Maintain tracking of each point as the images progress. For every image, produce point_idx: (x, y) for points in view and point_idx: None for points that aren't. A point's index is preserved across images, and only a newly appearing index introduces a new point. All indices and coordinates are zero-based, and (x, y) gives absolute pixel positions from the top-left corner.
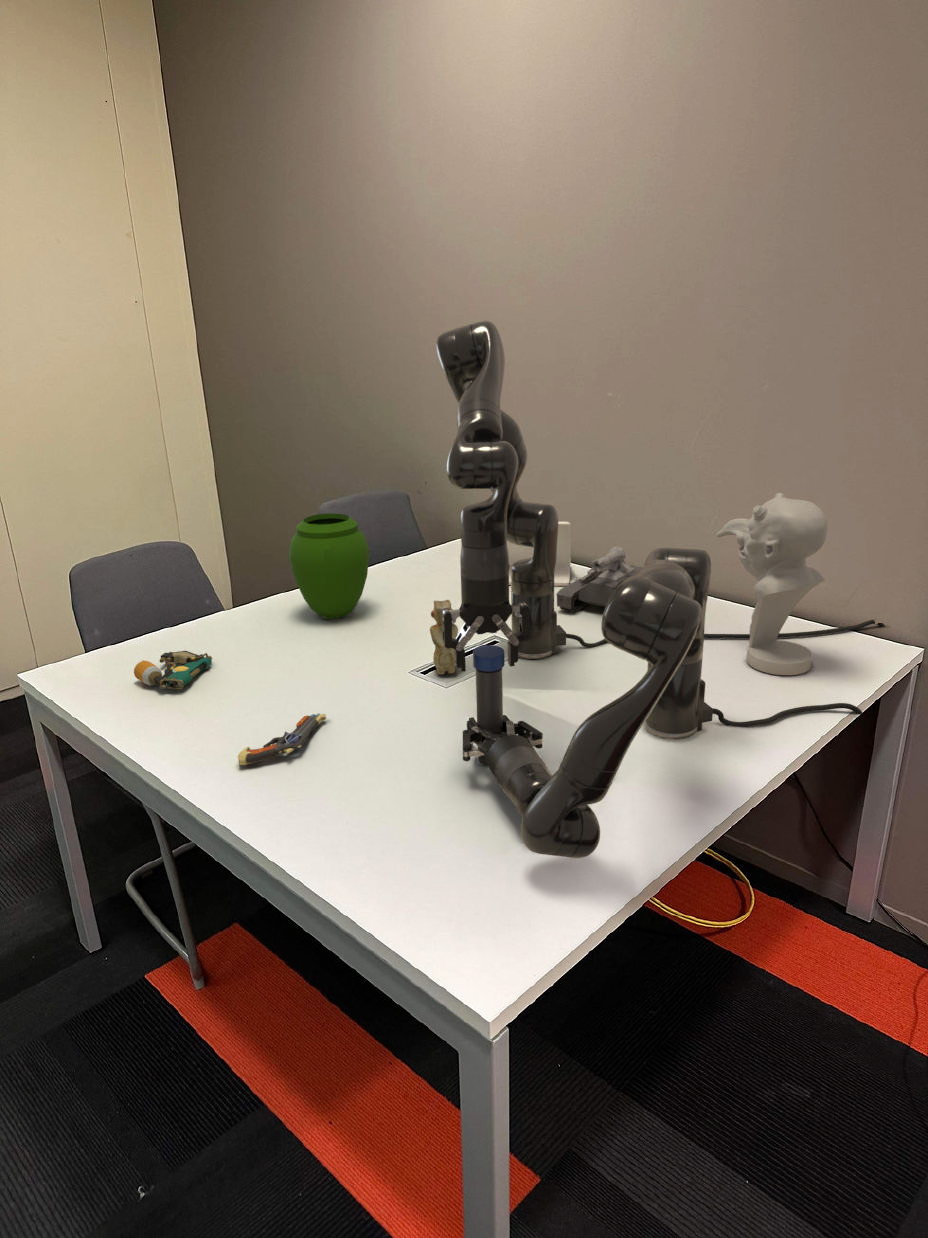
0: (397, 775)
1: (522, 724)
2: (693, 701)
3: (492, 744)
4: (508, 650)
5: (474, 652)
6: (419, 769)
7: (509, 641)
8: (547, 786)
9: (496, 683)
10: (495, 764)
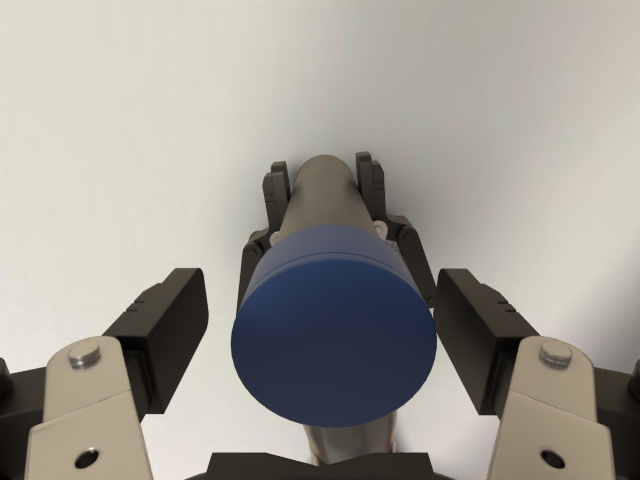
0: (123, 202)
1: (407, 247)
2: None
3: None
4: (466, 330)
5: (240, 351)
6: (169, 188)
7: (504, 373)
8: None
9: None
10: None
